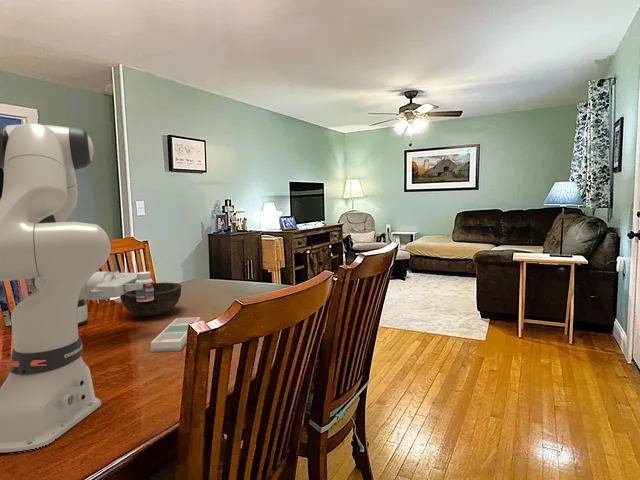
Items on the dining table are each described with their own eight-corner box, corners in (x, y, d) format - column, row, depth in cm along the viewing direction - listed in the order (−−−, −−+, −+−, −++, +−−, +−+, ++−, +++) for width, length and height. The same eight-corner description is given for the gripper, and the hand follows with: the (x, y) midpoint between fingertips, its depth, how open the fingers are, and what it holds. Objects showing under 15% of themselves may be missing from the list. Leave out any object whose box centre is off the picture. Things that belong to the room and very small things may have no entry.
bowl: (184, 318, 148) (182, 291, 147) (118, 326, 140) (116, 298, 139) (181, 304, 168) (180, 280, 167) (123, 310, 160) (121, 286, 159)
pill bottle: (147, 302, 126) (145, 274, 125) (132, 302, 127) (130, 274, 126) (157, 298, 131) (155, 271, 130) (143, 297, 132) (141, 271, 131)
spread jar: (89, 320, 149) (87, 289, 148) (84, 329, 138) (81, 296, 137) (51, 324, 145) (48, 292, 143) (43, 334, 134) (39, 300, 133)
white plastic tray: (180, 350, 116) (179, 341, 115) (151, 352, 115) (150, 342, 115) (200, 325, 139) (200, 317, 139) (176, 326, 139) (176, 318, 138)
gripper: (84, 282, 118) (132, 280, 118) (116, 270, 138) (157, 268, 139) (86, 303, 118) (134, 301, 119) (117, 288, 139) (158, 286, 139)
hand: (147, 283), depth 129 cm, fingers closed on pill bottle, 5 cm apart
